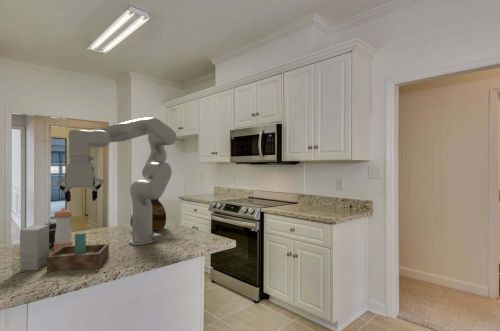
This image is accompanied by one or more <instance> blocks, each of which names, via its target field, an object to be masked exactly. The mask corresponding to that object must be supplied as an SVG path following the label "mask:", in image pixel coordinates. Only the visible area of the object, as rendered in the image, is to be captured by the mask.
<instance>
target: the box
mask: <svg viewBox="0 0 500 331" xmlns="http://www.w3.org/2000/svg"><path fill="white" fill-rule="evenodd" d="M109 255H110V254H109V243H102V244H101V243H99V244H86V254H75V245H73V246H62V247H60V248H59V249H57V250H56V251H53V252H51V253H49V256H47V264H46V273H49V272H62V271H74V270H89V269H90V270H91V269H100V268H101V267H102V265H103V264H104V263H105V262H106V260H107V259H108V258H109Z"/></svg>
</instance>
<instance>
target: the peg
mask: <svg viewBox="0 0 500 331" xmlns="http://www.w3.org/2000/svg"><path fill="white" fill-rule="evenodd" d="M86 235H87V234H86V232H77V233H74V246H75V254H86V245H87V243H86V242H87V241H86V240H87V239H86Z"/></svg>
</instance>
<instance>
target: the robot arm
mask: <svg viewBox="0 0 500 331" xmlns="http://www.w3.org/2000/svg"><path fill="white" fill-rule="evenodd" d="M143 136H147V141H148V143H149V148H150V153H149V155H148V158H147V160H146V162H145V163H144V166H143V168H142V172H141V175H142V176H143V178H144V179H137V180H135V181H134V182H132V183H131V185H130V188H129V189H130V190H129V191H130V197H131V204H132V206H131V208H132V210H131V211H132V215H131V217H132V226H131V228H132V232H131V234H132V238H130V239H129V241H128V244H130V245H132V246H143V245H144V246H145V245H150V244H153V243H154V242H156V239H161V238H162V234H161V233H155V232H154V231H152V203H151V200H156V199H158V200H159V199H160V198H161V197H162V196H163V194H164V193H165V190H166V188H167V186H168V184H169V182H170V180H171V176H172V167H171V164H170V163H168V162H166V159H167V157H168V156H167V151H166V148H165V146H172V145H174V144H175V143H176V141H177V133H176V132H175V131H174V129H172V127H170V126H169V125H167V124H166V123H165V122H163V121H162V120H160V119H159V118H156V117H153V116H152V117H142V118H137V119H132V120H128V121H125V122H120V123H115V124H111V125H108V126H103V127H98V128H94V129H91V130H87V129H70V130H69V131H68V156H69V158H68V159H69V163H67V166H66V174H65V177H64V178H62V179H60V180H58V181H56V184H57V185H58V187H59V189H60V190H61V191H63V193H64V199H65V201H66V203H69V202H71V201H72V199H71V198H72V197H71V189H72V188H90V189H91V190H92V191H91V194H92V195H91V198H92V202H94V201H96V200H97V199H98V190H99V189H100V188H102V185H103V184H104V179H101V178H100V177H98V176H96V175H95V174H96V172H95V167H94V163H93V162H92V161H94V160H95V157H94V156H91V149H101V148H102V149H103V148H105V147H107V146H108V145H109V144H110V143H114V142H115V143H116V142H125V141H129V140H132V139H136V138H140V137H143ZM96 181H97V182H98V184H97V185H96ZM63 183H65V185H66V186H65V185H64V184H63ZM150 199H151V200H150Z"/></svg>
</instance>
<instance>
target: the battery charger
mask: <svg viewBox="0 0 500 331" xmlns="http://www.w3.org/2000/svg"><path fill="white" fill-rule="evenodd" d="M43 225H49V249H50V248H54V243H55V231H56V221H54V222H47V223H44V224H43Z"/></svg>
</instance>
